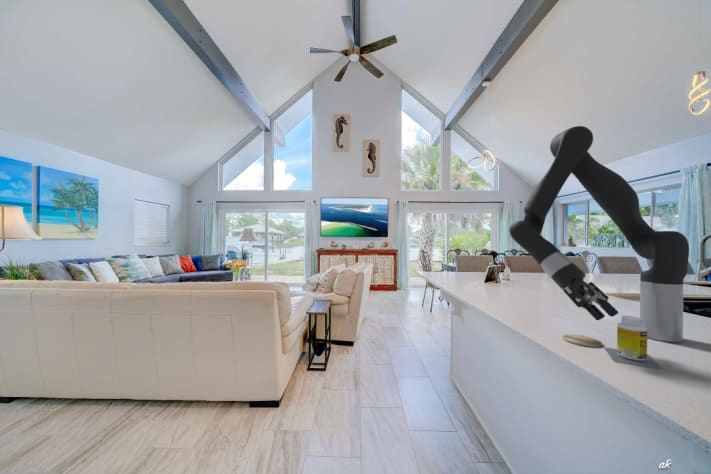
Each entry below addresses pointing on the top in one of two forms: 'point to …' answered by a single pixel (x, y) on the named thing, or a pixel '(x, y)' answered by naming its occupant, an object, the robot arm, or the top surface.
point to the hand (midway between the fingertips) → (608, 316)
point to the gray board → (647, 363)
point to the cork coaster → (582, 340)
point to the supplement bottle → (632, 338)
